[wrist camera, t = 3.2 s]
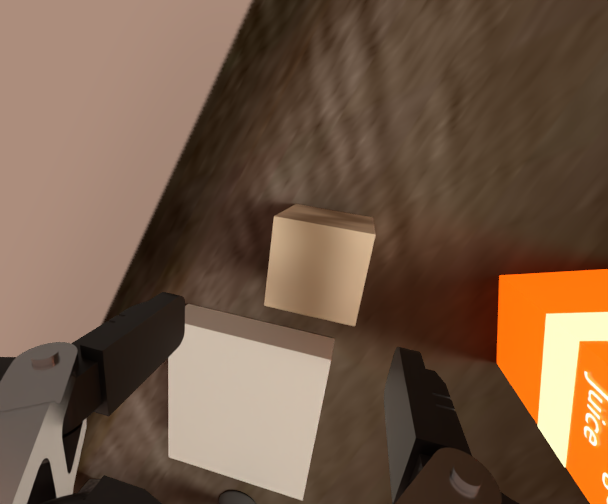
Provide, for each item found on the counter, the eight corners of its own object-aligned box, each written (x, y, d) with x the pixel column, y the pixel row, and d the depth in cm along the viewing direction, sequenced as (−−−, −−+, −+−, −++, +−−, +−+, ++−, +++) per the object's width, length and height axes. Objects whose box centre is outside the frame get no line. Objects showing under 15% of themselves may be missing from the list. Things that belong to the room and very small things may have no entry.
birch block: (372, 217, 22) (375, 234, 17) (357, 288, 24) (355, 326, 18) (296, 203, 23) (274, 215, 17) (287, 273, 25) (263, 305, 19)
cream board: (334, 338, 26) (331, 360, 23) (308, 469, 30) (302, 500, 28) (188, 303, 28) (168, 319, 25) (185, 431, 33) (168, 456, 30)
